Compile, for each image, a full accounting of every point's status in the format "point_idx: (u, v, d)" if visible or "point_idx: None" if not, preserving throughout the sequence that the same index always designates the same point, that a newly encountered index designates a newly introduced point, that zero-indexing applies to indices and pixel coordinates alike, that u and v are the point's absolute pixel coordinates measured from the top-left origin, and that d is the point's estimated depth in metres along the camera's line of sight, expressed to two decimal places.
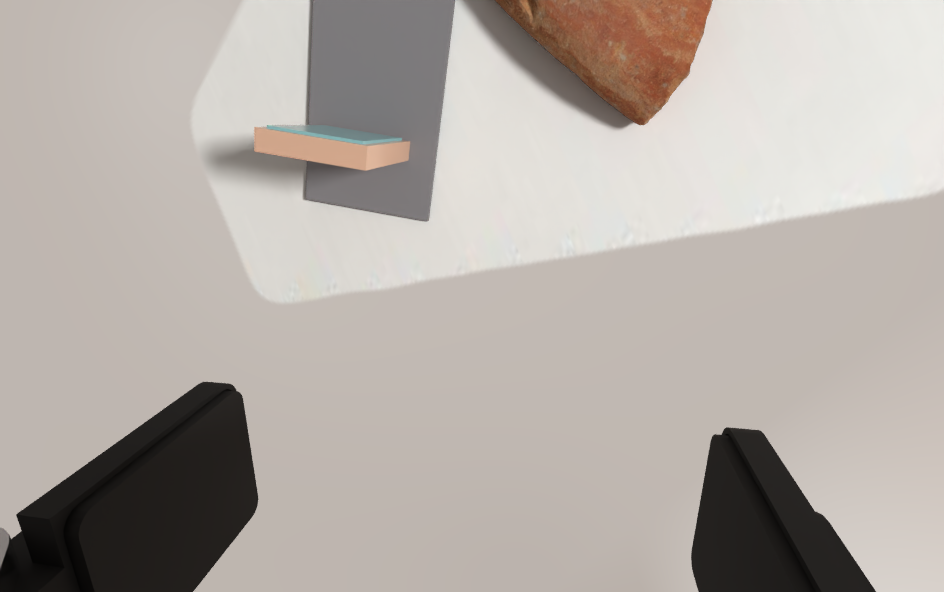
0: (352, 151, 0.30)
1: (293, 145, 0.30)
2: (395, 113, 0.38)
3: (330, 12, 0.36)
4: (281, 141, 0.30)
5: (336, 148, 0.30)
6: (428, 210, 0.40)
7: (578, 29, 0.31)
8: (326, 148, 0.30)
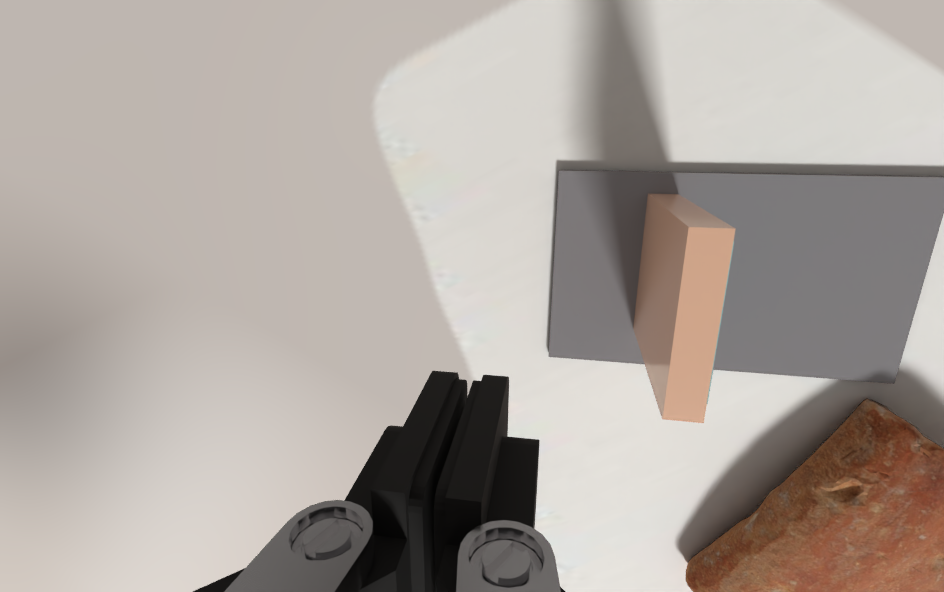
0: (693, 400, 0.18)
1: (701, 301, 0.17)
2: None
3: (855, 206, 0.23)
4: (708, 280, 0.17)
5: (698, 375, 0.18)
6: (563, 356, 0.28)
7: (812, 551, 0.25)
8: (697, 358, 0.18)
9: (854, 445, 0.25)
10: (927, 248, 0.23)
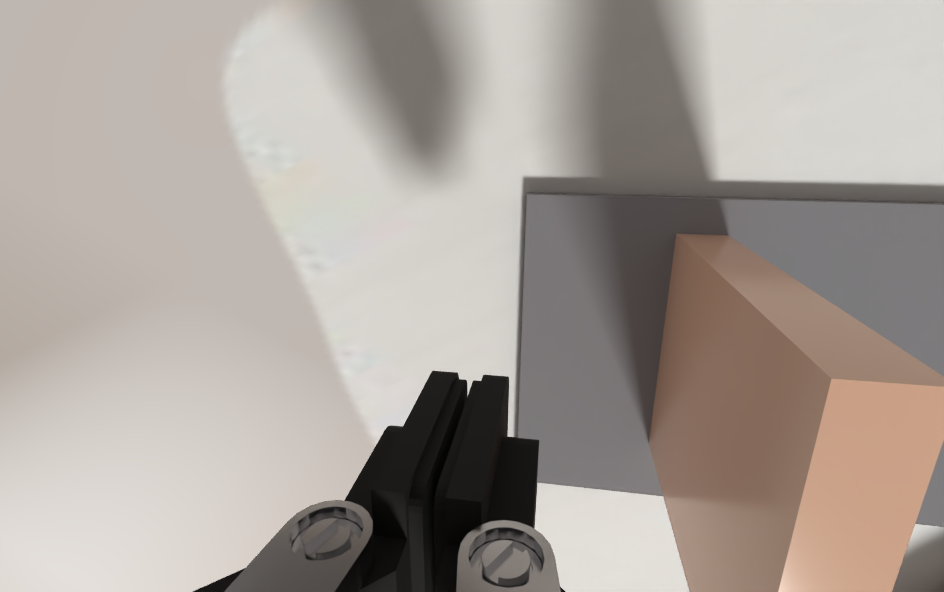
0: None
1: (849, 547, 0.07)
2: None
3: None
4: (872, 502, 0.07)
5: None
6: (539, 479, 0.18)
7: None
8: None
9: None
10: None
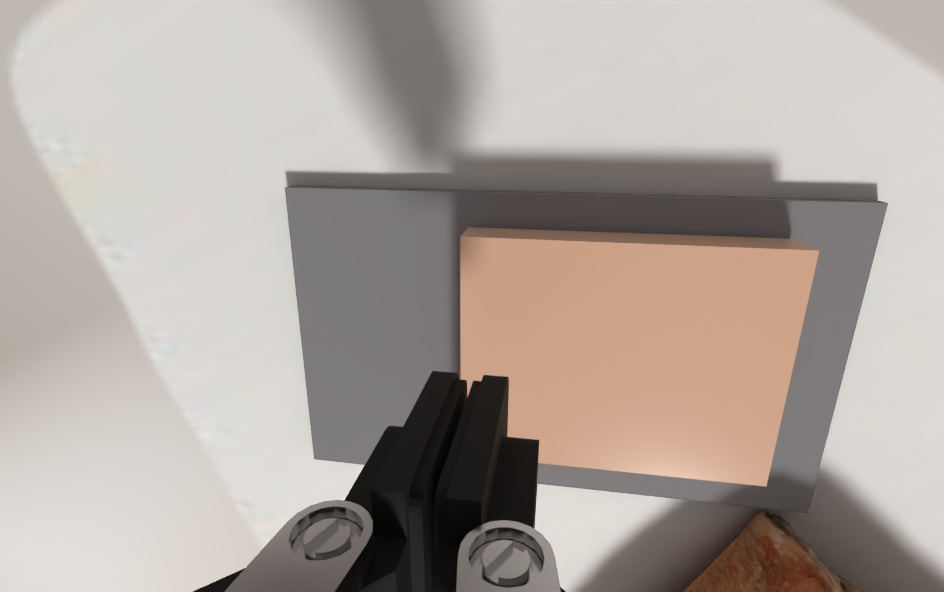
0: None
1: None
2: None
3: None
4: None
5: None
6: (336, 458, 0.19)
7: None
8: None
9: None
10: (850, 315, 0.15)
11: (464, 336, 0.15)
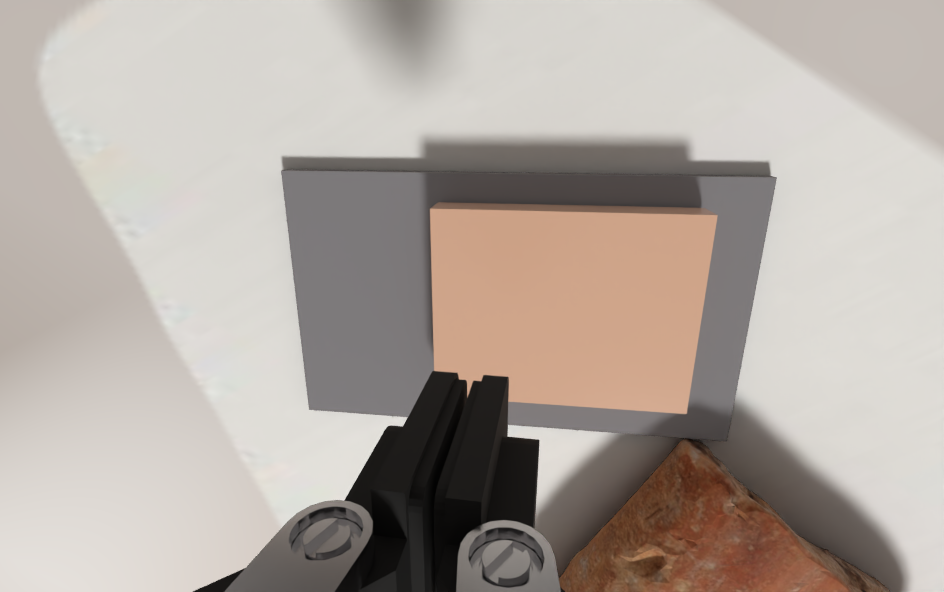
0: None
1: None
2: None
3: None
4: None
5: None
6: (328, 408, 0.22)
7: None
8: None
9: (661, 501, 0.19)
10: (752, 271, 0.18)
11: (435, 293, 0.18)
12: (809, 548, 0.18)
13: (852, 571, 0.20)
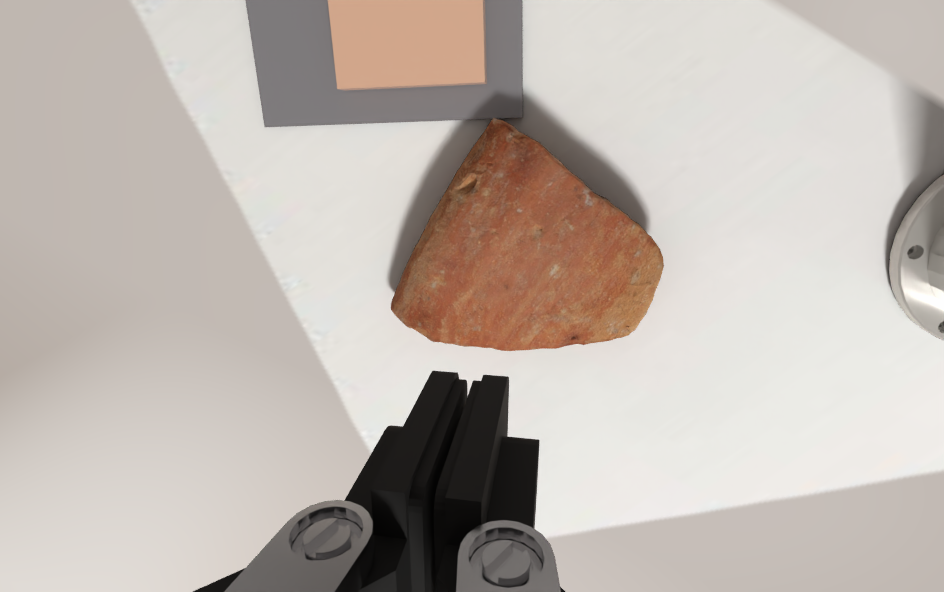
0: (486, 67, 0.31)
1: None
2: None
3: None
4: None
5: (485, 49, 0.30)
6: (277, 125, 0.34)
7: (449, 239, 0.32)
8: (485, 37, 0.30)
9: (476, 150, 0.31)
10: None
11: (331, 13, 0.30)
12: (558, 160, 0.30)
13: (600, 196, 0.32)
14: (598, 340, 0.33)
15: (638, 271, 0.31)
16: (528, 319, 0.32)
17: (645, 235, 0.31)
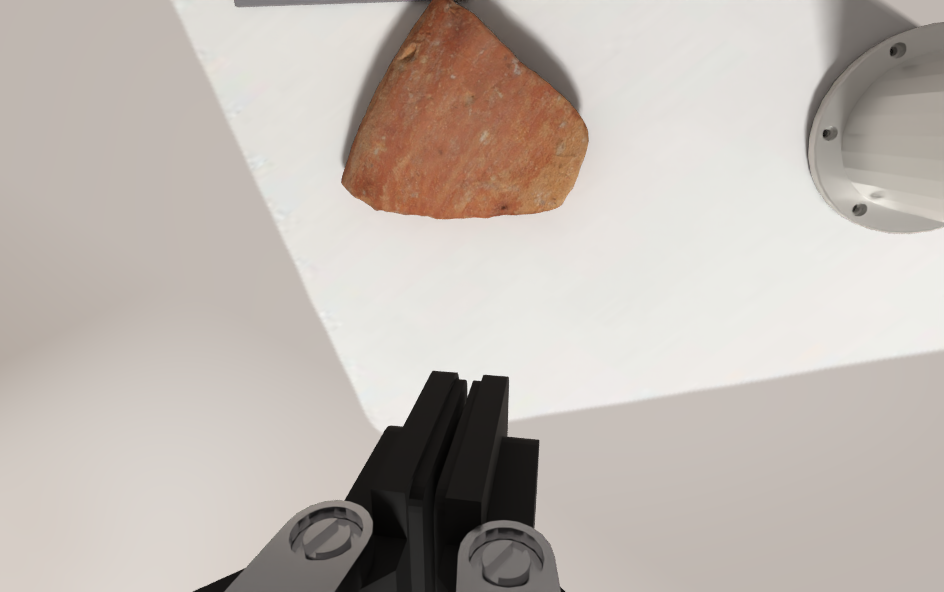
0: None
1: None
2: None
3: None
4: None
5: None
6: (246, 5, 0.37)
7: (390, 106, 0.34)
8: None
9: (419, 23, 0.34)
10: None
11: None
12: (490, 31, 0.32)
13: None
14: (526, 211, 0.35)
15: (563, 142, 0.34)
16: (461, 186, 0.35)
17: (570, 107, 0.33)
